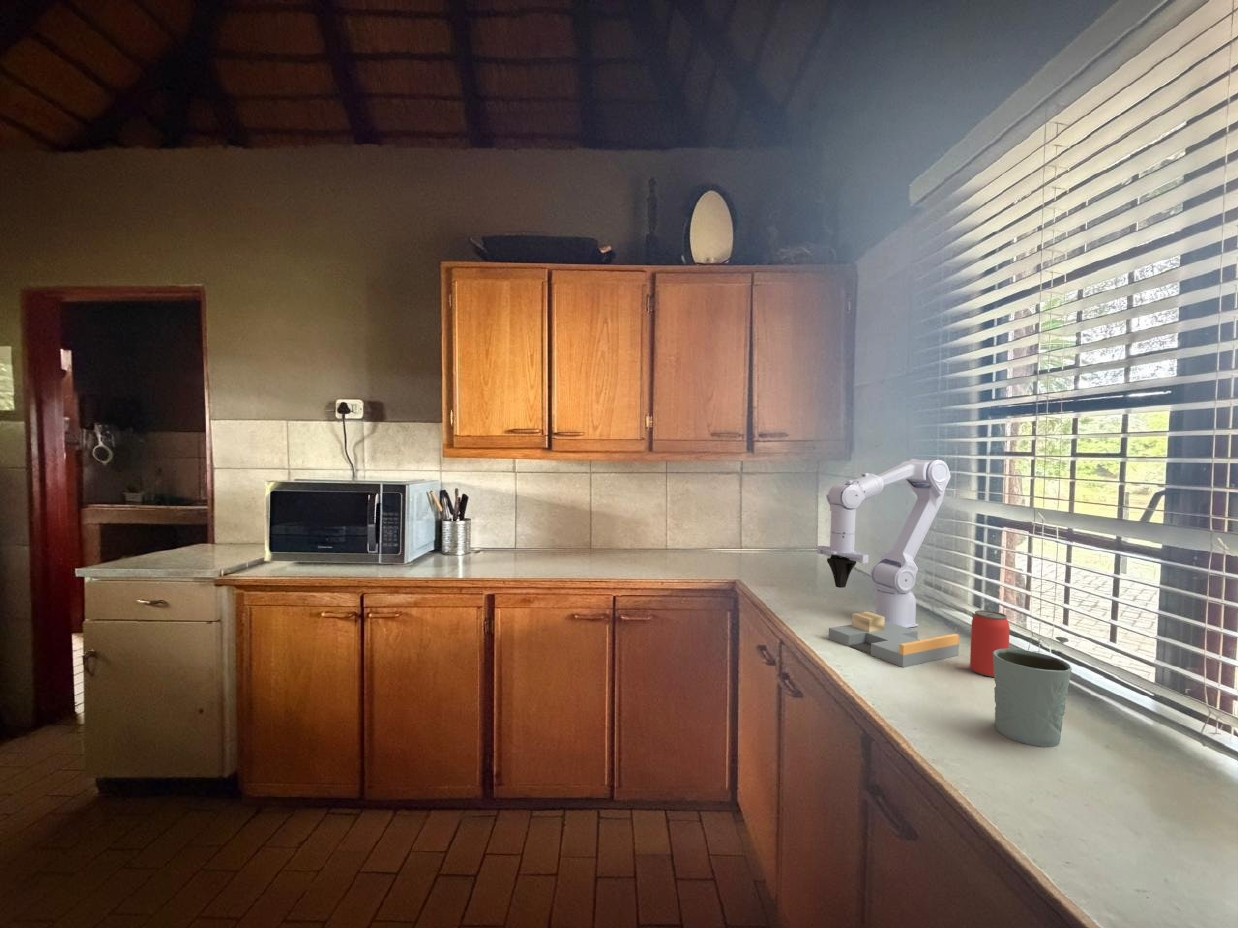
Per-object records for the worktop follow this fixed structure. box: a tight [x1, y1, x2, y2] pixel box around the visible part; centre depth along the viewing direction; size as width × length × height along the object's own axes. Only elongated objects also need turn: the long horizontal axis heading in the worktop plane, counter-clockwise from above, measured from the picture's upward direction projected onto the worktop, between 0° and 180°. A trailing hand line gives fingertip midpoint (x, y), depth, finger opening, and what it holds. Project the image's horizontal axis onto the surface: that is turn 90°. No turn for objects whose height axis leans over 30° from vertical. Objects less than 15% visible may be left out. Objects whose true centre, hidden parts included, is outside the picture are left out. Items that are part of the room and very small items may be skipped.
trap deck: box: [828, 621, 960, 668], centre depth 135 cm, size 18×20×4 cm
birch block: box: [851, 611, 885, 632], centre depth 141 cm, size 5×5×3 cm
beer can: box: [969, 609, 1011, 678], centre depth 121 cm, size 7×7×12 cm
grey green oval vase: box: [993, 648, 1073, 748], centre depth 94 cm, size 10×10×12 cm
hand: (840, 586), depth 148 cm, fingers closed
